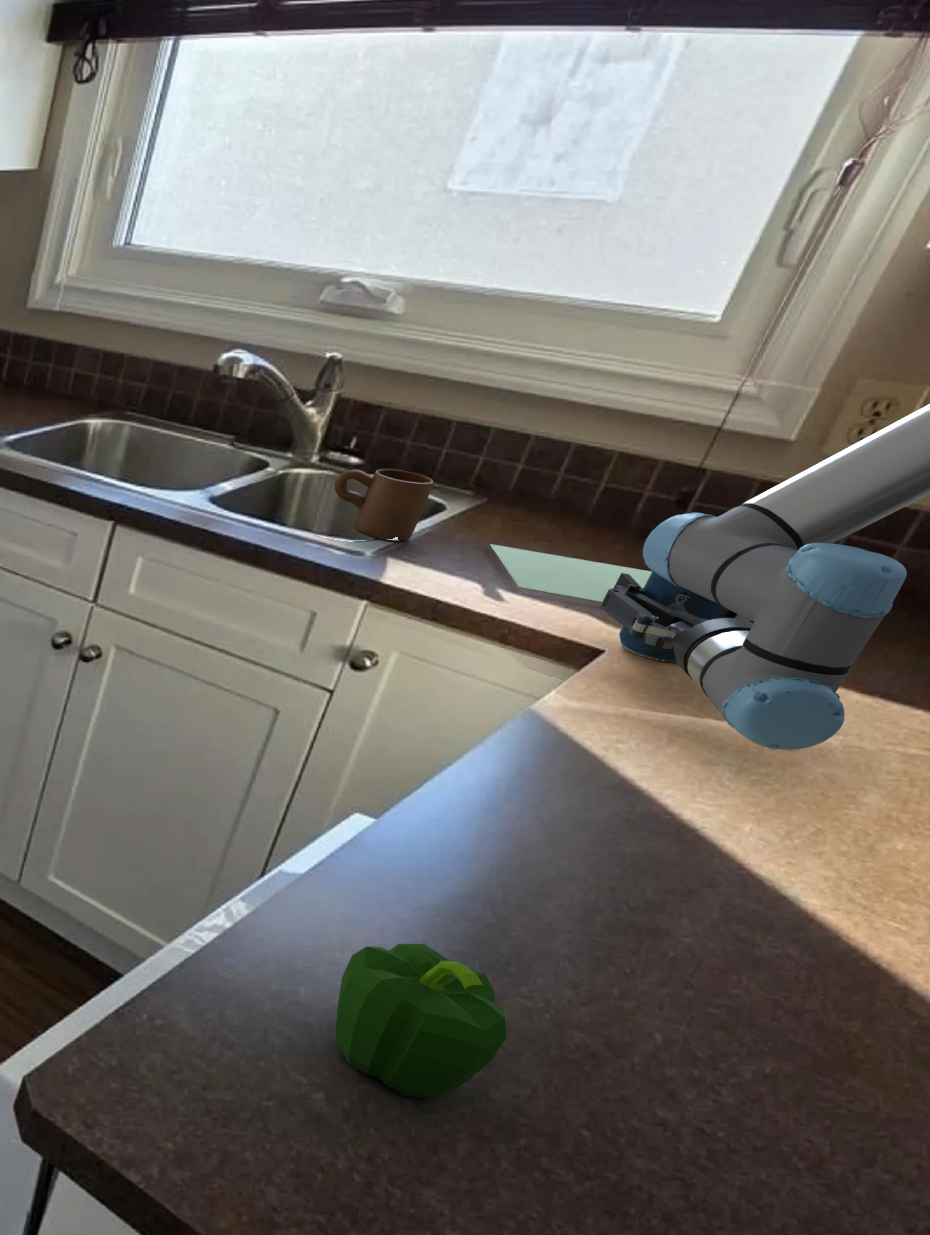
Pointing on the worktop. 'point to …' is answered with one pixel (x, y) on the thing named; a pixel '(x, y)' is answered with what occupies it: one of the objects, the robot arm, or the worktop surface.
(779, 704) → the robot arm
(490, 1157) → the worktop surface
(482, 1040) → the bell pepper
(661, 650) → the soda can
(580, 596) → the mat
